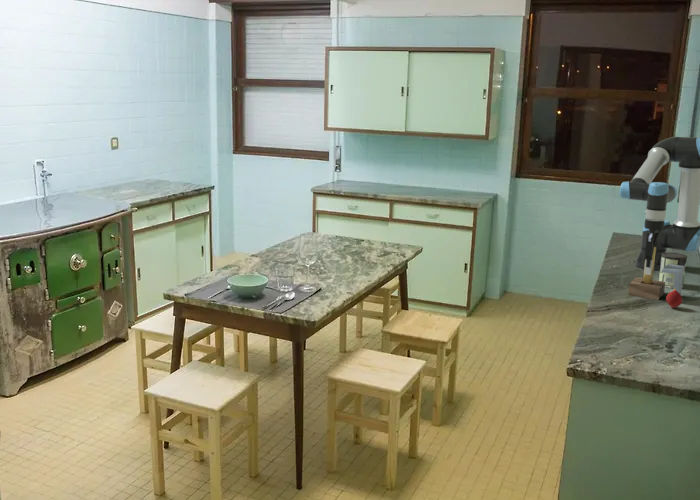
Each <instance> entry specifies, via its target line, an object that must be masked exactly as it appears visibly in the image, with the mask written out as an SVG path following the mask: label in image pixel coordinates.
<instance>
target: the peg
mask: <svg viewBox="0 0 700 500" xmlns="http://www.w3.org/2000/svg"><path fill="white" fill-rule="evenodd" d="M655 253H656V247H654V251H653V257H652V258H653V259H652V260H653V263H652V271H651V275H647V274H644V273H643V284H649V285H651V284H652V280H653V276H654V270H653V269H654V261H655ZM645 260H646V259H645ZM644 269H645V267H644V268H643V270H644Z"/></svg>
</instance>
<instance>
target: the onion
mask: <svg viewBox="0 0 700 500" xmlns="http://www.w3.org/2000/svg"><path fill="white" fill-rule="evenodd" d="M665 301H666V303H667V304H668V306H670V307H671V308H672V309H675V308H678V307H680V305H681V304H682V303H683V297H682V293H681V294H680V293H679V292H678V291H677V290H676V289H673V288H672V291H670V292H669V293H668V294H667V295H666V298H665Z"/></svg>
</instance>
